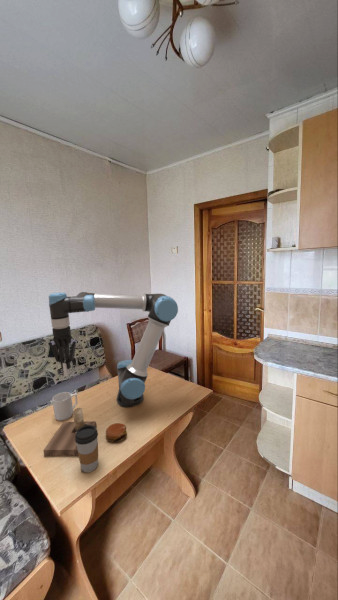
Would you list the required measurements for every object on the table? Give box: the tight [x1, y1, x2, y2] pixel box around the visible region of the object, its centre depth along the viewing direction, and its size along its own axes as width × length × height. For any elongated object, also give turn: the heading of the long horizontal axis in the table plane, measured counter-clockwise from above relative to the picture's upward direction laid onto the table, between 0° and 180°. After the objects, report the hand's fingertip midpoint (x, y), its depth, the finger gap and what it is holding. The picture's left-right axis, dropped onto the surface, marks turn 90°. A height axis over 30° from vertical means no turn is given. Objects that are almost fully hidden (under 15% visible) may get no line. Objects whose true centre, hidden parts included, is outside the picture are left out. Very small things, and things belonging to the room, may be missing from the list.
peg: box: [72, 407, 84, 432], centre depth 113 cm, size 4×4×12 cm
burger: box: [105, 422, 128, 443], centre depth 112 cm, size 10×9×5 cm
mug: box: [52, 391, 78, 422], centre depth 129 cm, size 12×9×11 cm
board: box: [43, 420, 97, 458], centre depth 110 cm, size 16×18×3 cm
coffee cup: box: [75, 425, 99, 473], centre depth 95 cm, size 8×8×15 cm
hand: (67, 375), depth 116 cm, fingers closed
